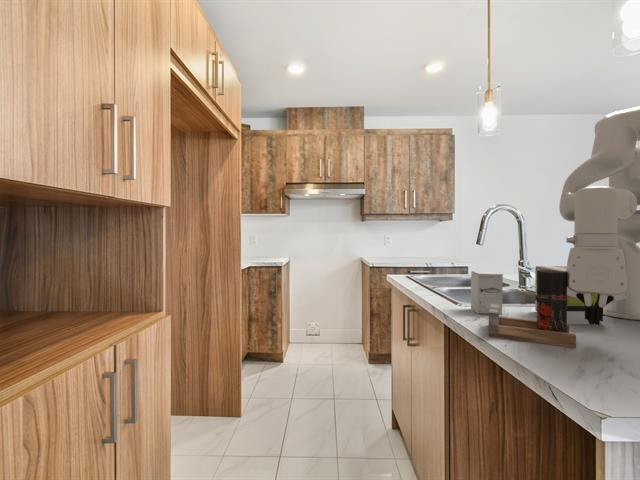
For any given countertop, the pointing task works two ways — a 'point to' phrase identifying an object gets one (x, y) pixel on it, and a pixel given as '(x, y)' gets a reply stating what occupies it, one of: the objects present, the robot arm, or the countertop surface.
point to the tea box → (568, 300)
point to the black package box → (552, 300)
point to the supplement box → (486, 291)
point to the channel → (526, 330)
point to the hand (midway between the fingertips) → (593, 323)
